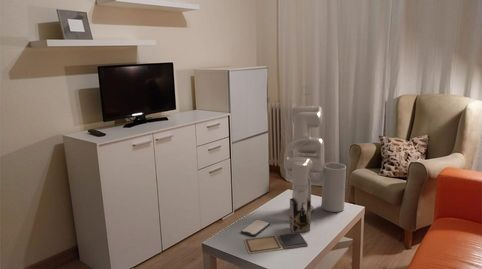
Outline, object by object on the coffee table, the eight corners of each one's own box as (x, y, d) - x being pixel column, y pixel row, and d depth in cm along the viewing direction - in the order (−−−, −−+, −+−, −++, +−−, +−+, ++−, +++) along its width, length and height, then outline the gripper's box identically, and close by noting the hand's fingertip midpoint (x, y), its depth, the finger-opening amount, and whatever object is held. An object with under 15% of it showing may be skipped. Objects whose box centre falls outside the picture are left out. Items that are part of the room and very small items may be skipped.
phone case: (256, 221, 201) (239, 233, 188) (256, 218, 201) (239, 230, 188) (271, 225, 196) (254, 238, 183) (270, 222, 196) (254, 235, 183)
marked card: (243, 239, 181) (243, 238, 181) (275, 235, 184) (275, 234, 184) (248, 253, 169) (248, 252, 169) (282, 249, 172) (282, 248, 171)
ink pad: (278, 237, 182) (278, 234, 182) (299, 234, 184) (299, 232, 184) (284, 249, 172) (284, 246, 171) (307, 246, 174) (307, 243, 173)
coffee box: (293, 233, 186) (293, 203, 182) (289, 227, 192) (289, 198, 188) (310, 230, 188) (311, 201, 184) (306, 225, 194) (306, 196, 190)
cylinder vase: (327, 201, 221) (329, 161, 215) (347, 207, 213) (349, 165, 207) (317, 208, 211) (319, 166, 206) (338, 214, 204) (340, 170, 198)
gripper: (287, 181, 192) (287, 212, 196) (298, 193, 175) (298, 226, 179) (301, 179, 193) (301, 210, 197) (313, 191, 177) (313, 225, 180)
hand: (300, 218), depth 188 cm, fingers open, 9 cm apart
